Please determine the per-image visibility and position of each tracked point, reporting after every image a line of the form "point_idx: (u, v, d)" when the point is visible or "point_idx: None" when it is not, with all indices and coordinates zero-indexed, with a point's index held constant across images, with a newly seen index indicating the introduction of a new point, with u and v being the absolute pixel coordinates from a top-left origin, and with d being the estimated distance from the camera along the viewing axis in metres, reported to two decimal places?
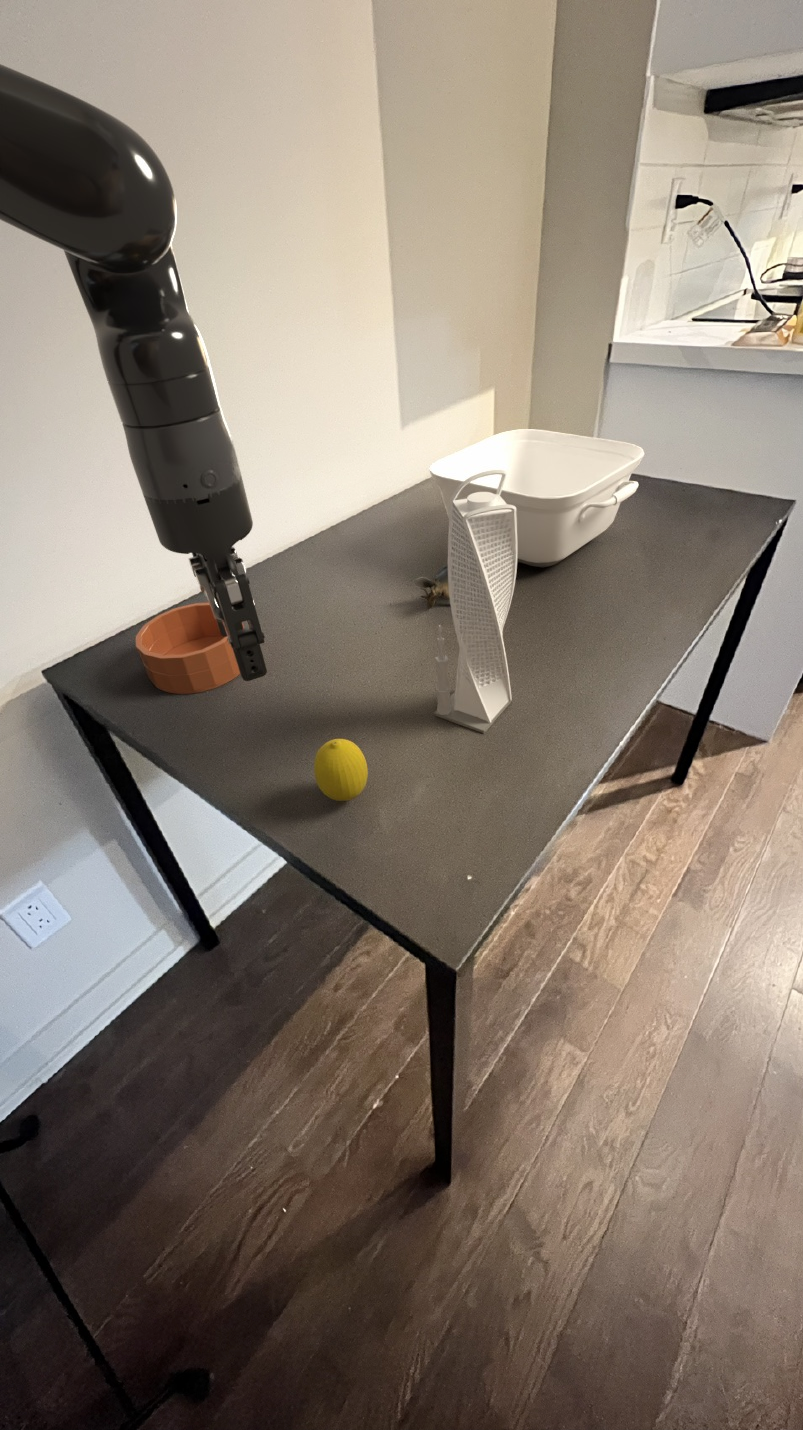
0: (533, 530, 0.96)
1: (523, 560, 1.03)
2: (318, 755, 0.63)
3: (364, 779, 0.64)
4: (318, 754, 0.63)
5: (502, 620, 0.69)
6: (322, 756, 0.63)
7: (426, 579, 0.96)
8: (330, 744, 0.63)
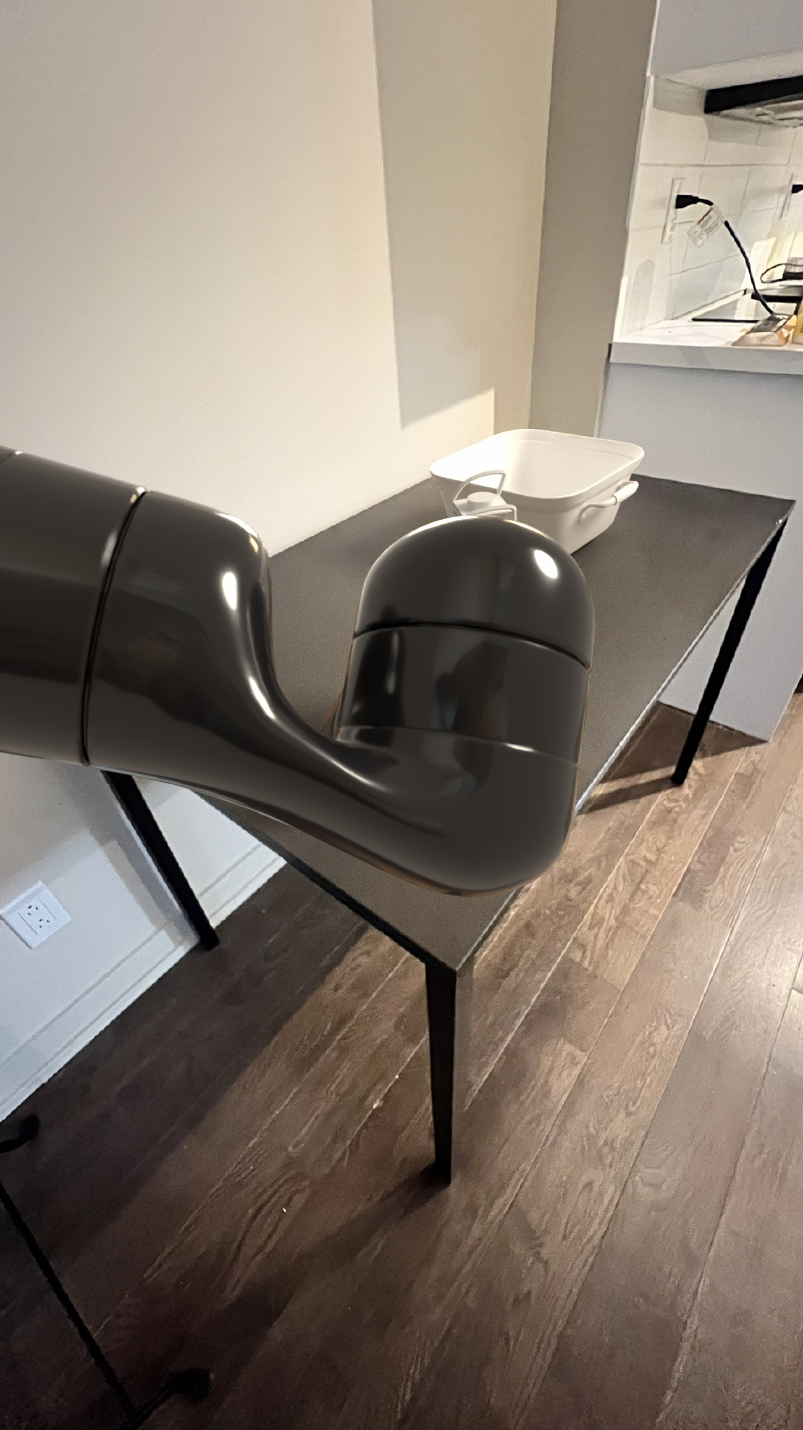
0: None
1: None
2: None
3: None
4: None
5: None
6: None
7: None
8: None
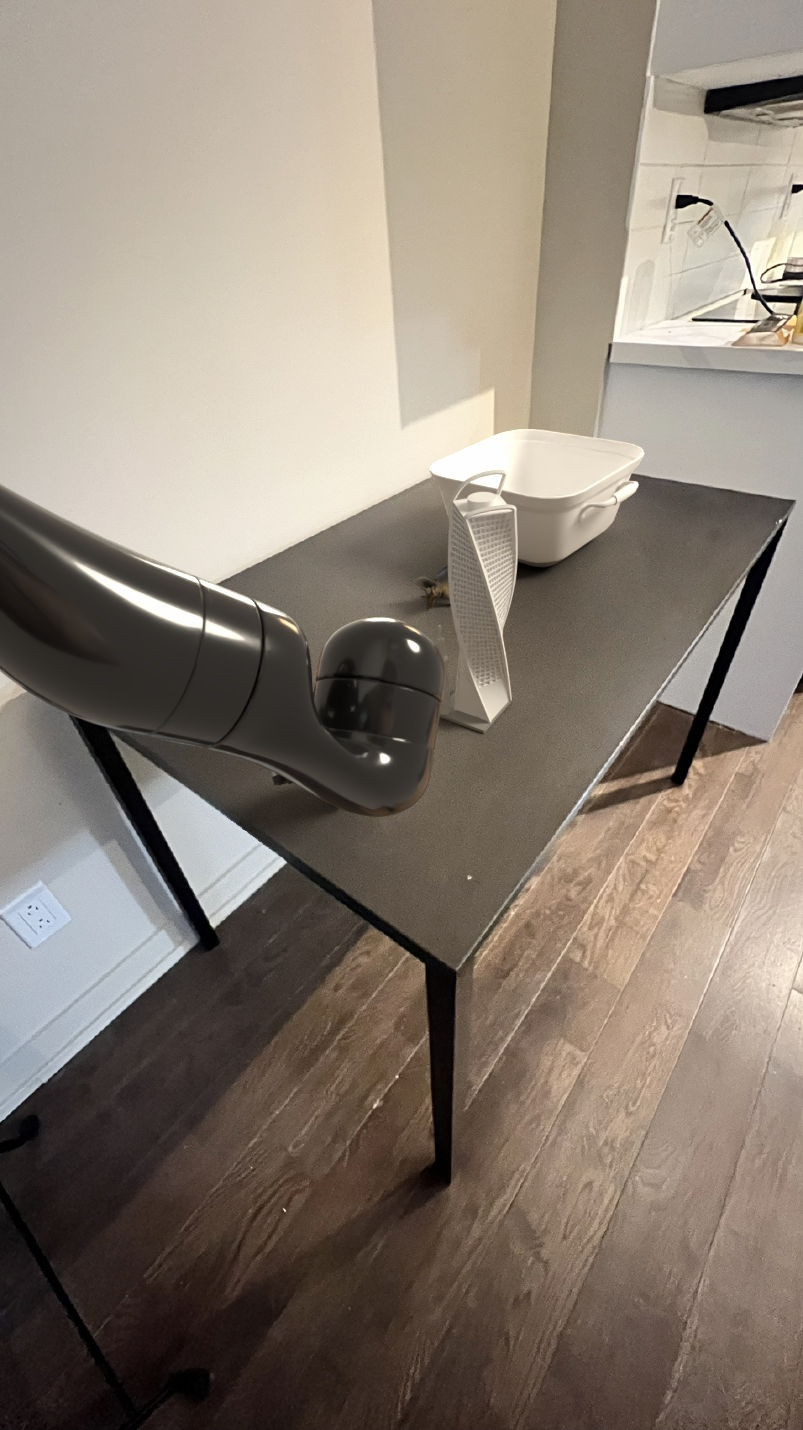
0: (533, 530, 0.96)
1: (523, 560, 1.03)
2: None
3: None
4: None
5: (502, 620, 0.69)
6: None
7: (426, 579, 0.96)
8: None
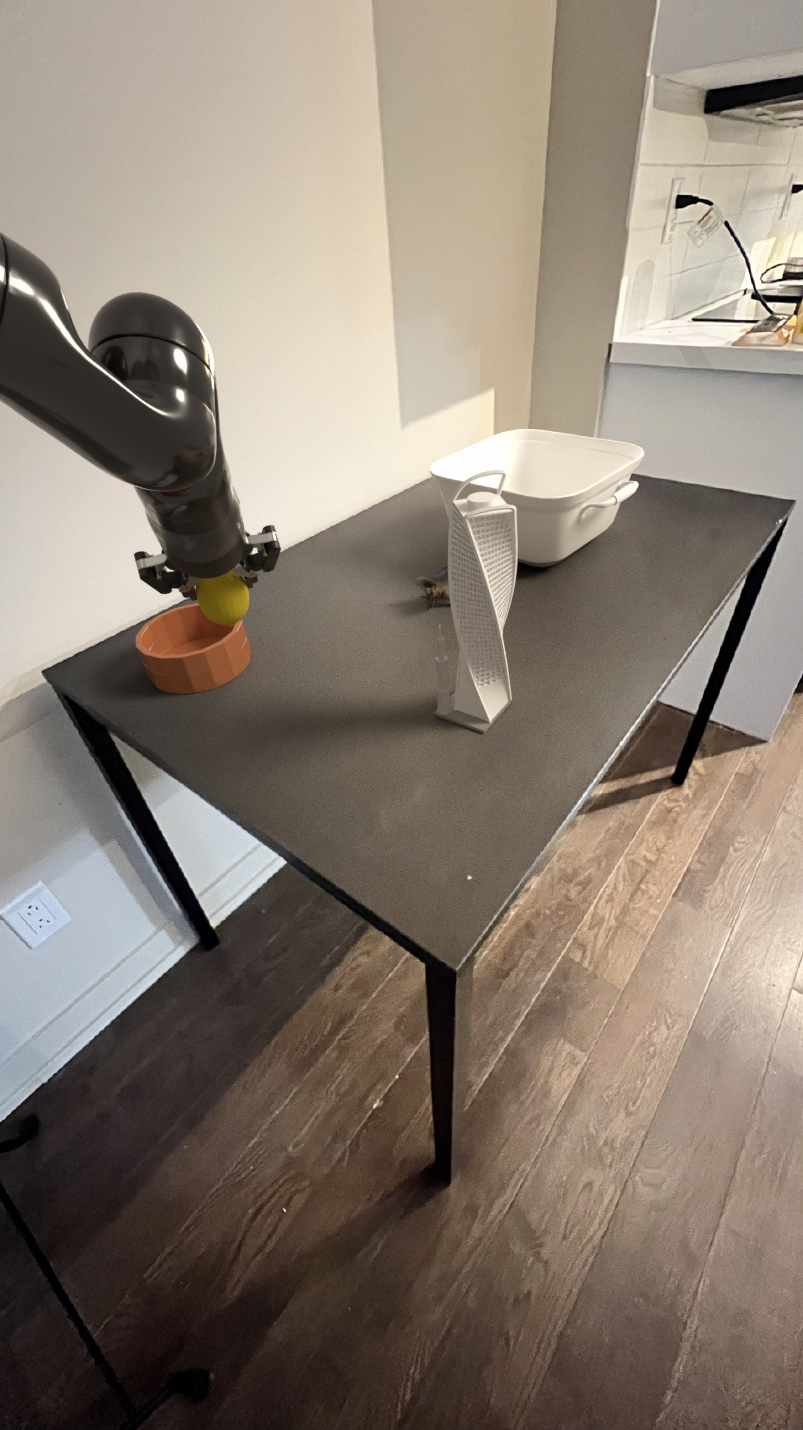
0: (533, 530, 0.96)
1: (523, 560, 1.03)
2: None
3: (243, 600, 0.68)
4: None
5: (502, 620, 0.69)
6: None
7: (426, 579, 0.96)
8: None
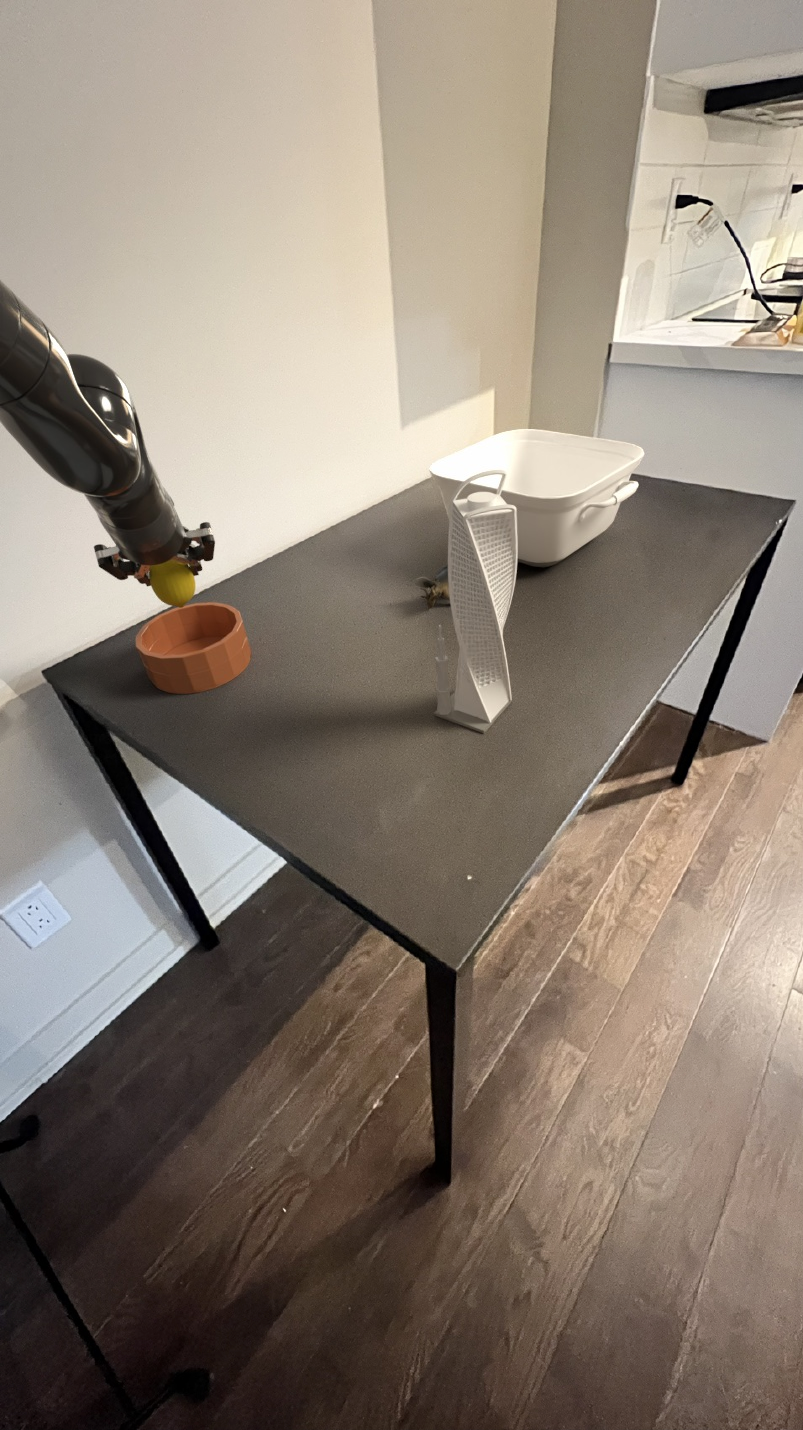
0: (533, 530, 0.96)
1: (523, 560, 1.03)
2: None
3: (189, 585, 0.82)
4: None
5: (502, 620, 0.69)
6: None
7: (426, 579, 0.96)
8: None
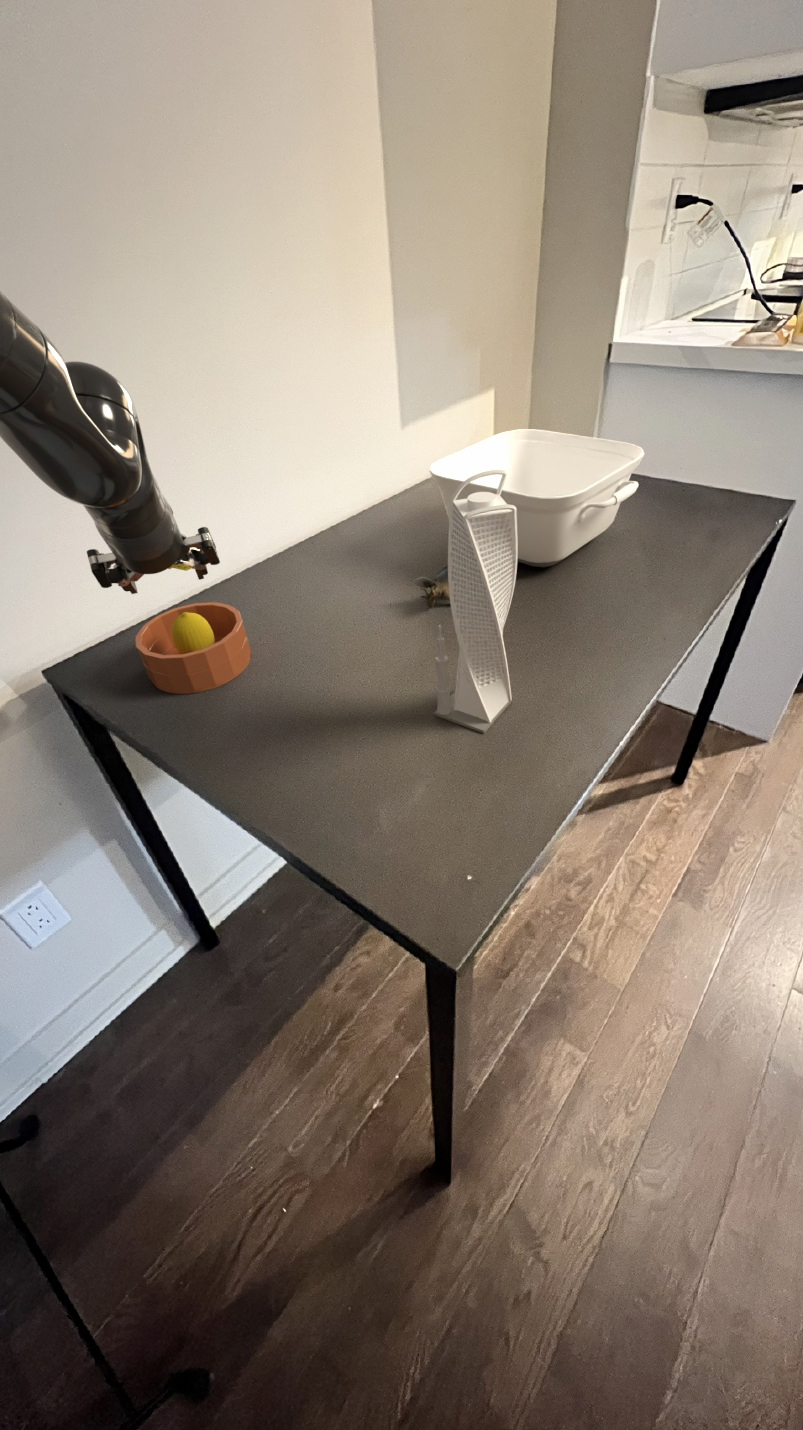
0: (533, 530, 0.96)
1: (523, 560, 1.03)
2: (173, 623, 0.86)
3: (209, 642, 0.87)
4: (173, 623, 0.86)
5: (502, 620, 0.69)
6: (175, 623, 0.86)
7: (426, 579, 0.96)
8: None
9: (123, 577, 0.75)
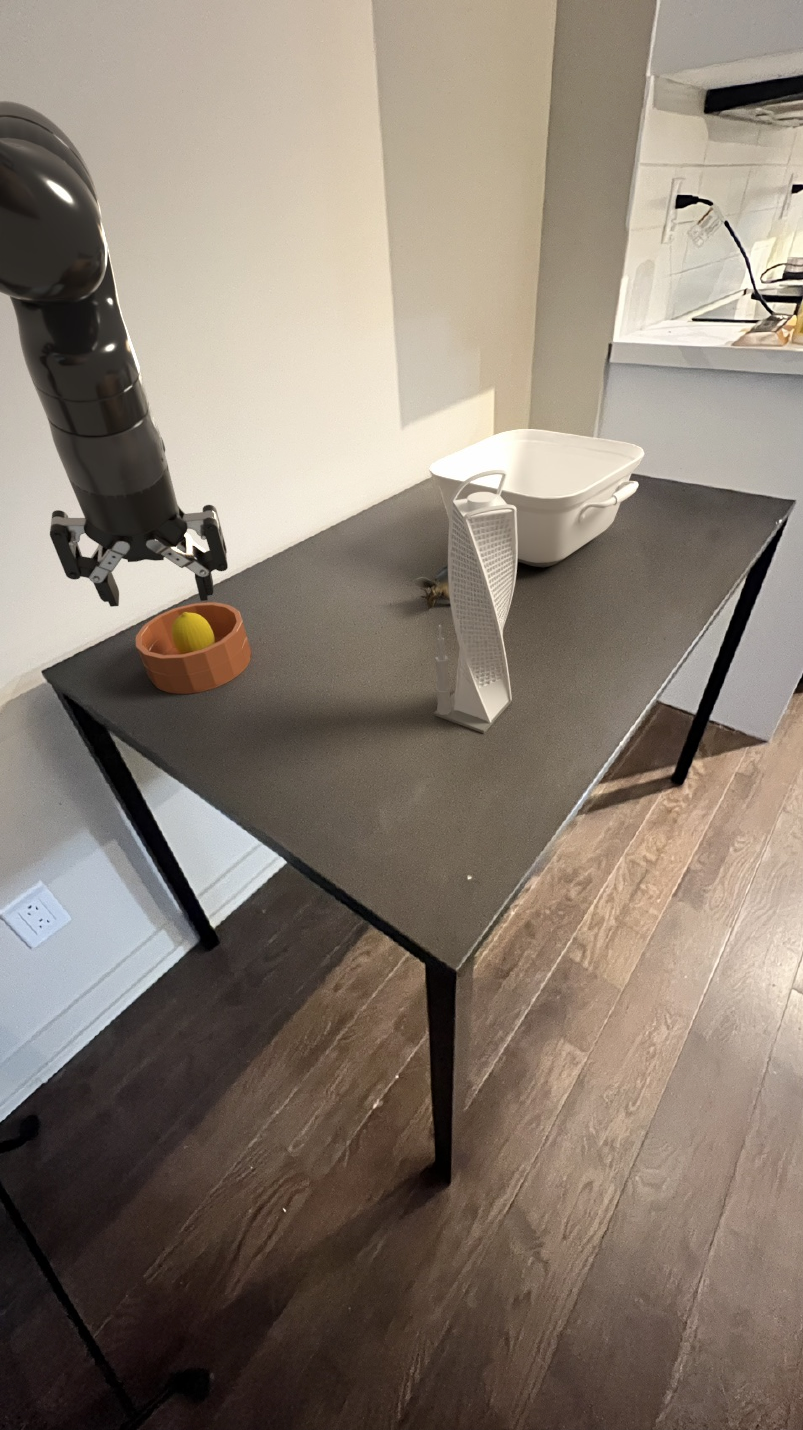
0: (533, 530, 0.96)
1: (523, 560, 1.03)
2: (173, 623, 0.86)
3: (209, 642, 0.87)
4: (173, 623, 0.86)
5: (502, 620, 0.69)
6: (175, 623, 0.86)
7: (426, 579, 0.96)
8: None
9: (96, 564, 0.56)
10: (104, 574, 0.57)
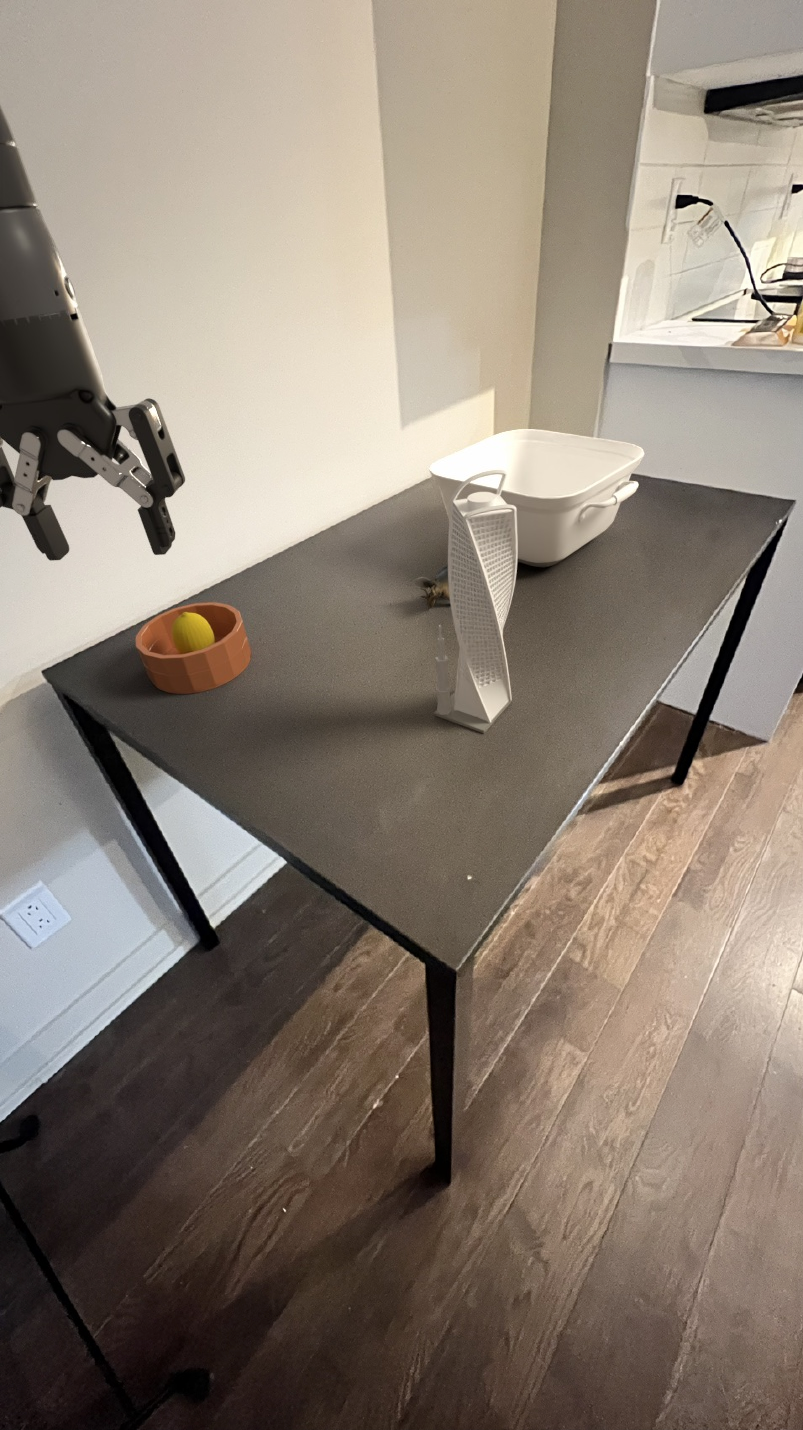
0: (533, 530, 0.96)
1: (523, 560, 1.03)
2: (173, 623, 0.86)
3: (209, 642, 0.87)
4: (173, 623, 0.86)
5: (502, 620, 0.69)
6: (175, 623, 0.86)
7: (426, 579, 0.96)
8: None
9: None
10: (28, 500, 0.45)
